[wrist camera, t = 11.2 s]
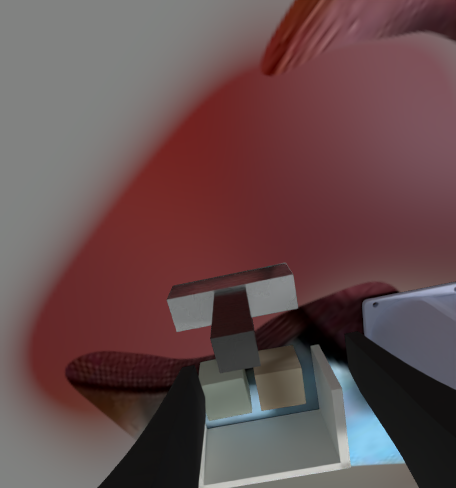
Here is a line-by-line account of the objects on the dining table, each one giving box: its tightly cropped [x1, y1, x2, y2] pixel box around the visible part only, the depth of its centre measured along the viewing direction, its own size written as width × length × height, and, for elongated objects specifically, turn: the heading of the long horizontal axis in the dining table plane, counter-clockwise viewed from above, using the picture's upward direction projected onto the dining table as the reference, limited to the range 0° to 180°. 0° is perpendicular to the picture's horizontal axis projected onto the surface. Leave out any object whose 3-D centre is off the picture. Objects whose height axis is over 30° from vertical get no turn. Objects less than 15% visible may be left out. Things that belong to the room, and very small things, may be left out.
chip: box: [253, 345, 306, 411], centre depth 23 cm, size 4×4×3 cm
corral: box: [199, 344, 351, 488], centre depth 23 cm, size 14×9×5 cm, turn 102°
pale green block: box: [199, 359, 252, 421], centre depth 24 cm, size 4×4×3 cm
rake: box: [167, 263, 298, 373], centre depth 19 cm, size 10×3×8 cm, turn 102°
